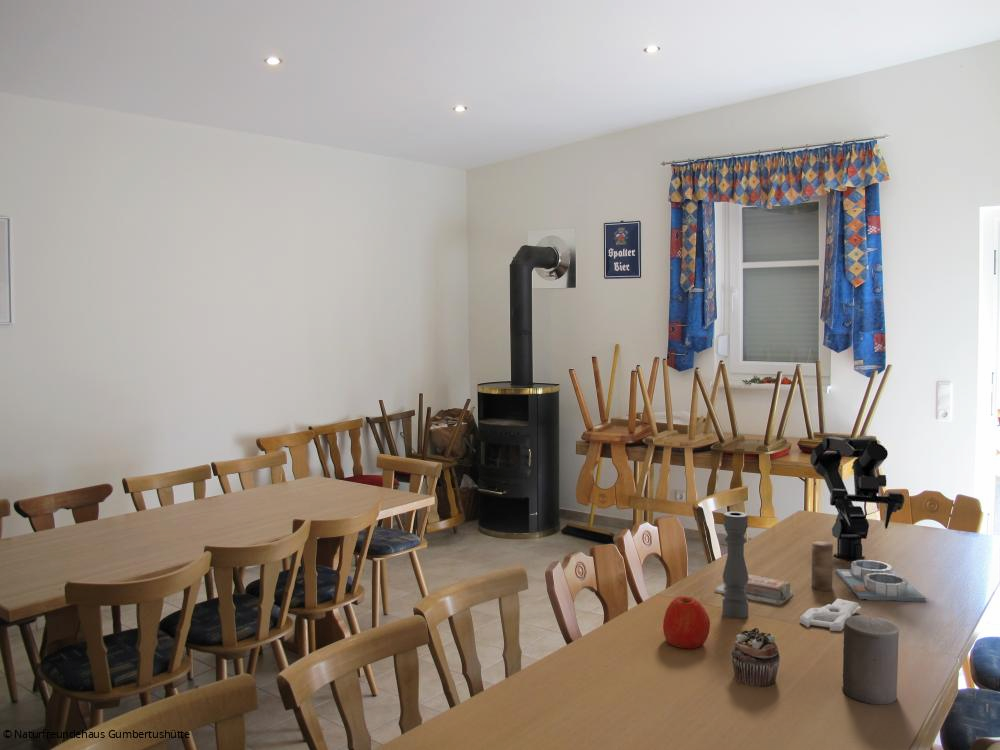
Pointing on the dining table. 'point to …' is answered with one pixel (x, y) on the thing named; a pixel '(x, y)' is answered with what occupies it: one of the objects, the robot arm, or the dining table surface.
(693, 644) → the apple
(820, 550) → the walnut peg
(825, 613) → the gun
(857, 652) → the pillar candle
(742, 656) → the cupcake
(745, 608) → the candle holder
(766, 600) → the packaged product
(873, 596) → the socket board
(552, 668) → the dining table surface
